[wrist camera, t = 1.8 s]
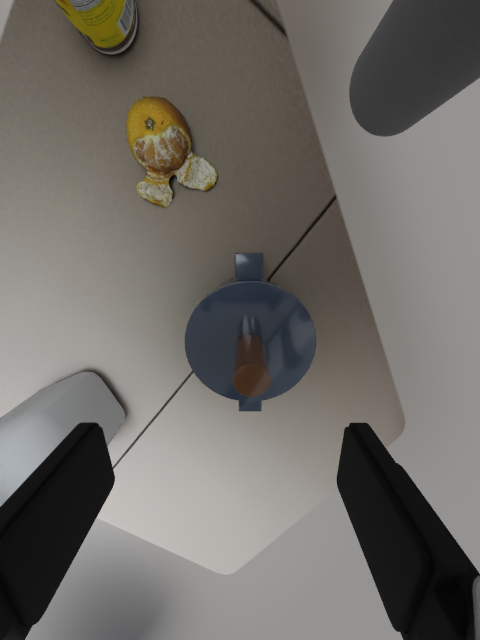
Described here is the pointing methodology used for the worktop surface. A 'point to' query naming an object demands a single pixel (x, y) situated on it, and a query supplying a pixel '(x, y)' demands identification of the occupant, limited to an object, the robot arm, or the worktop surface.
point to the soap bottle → (52, 424)
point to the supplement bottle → (103, 22)
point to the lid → (250, 341)
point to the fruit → (164, 150)
